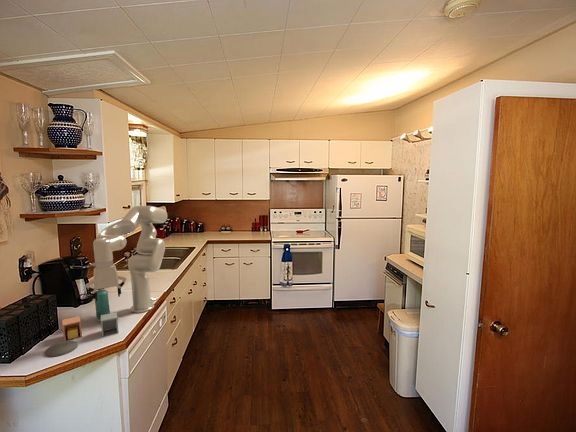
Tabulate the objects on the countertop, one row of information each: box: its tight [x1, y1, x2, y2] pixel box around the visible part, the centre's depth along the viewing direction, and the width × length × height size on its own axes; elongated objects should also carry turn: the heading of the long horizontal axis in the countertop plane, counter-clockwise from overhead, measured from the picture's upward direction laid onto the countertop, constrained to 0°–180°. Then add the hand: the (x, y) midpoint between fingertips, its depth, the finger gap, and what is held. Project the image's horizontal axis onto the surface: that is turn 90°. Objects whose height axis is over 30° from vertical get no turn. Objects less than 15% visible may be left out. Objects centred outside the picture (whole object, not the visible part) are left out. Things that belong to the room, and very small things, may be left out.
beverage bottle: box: [94, 288, 111, 321], centre depth 168 cm, size 6×7×20 cm
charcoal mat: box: [44, 340, 79, 358], centre depth 141 cm, size 12×12×1 cm
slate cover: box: [100, 312, 119, 337], centre depth 157 cm, size 7×7×8 cm
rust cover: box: [62, 315, 83, 342], centre depth 153 cm, size 7×7×8 cm
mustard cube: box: [67, 326, 79, 340], centre depth 153 cm, size 4×4×4 cm
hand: (107, 297), depth 155 cm, fingers open, 9 cm apart
